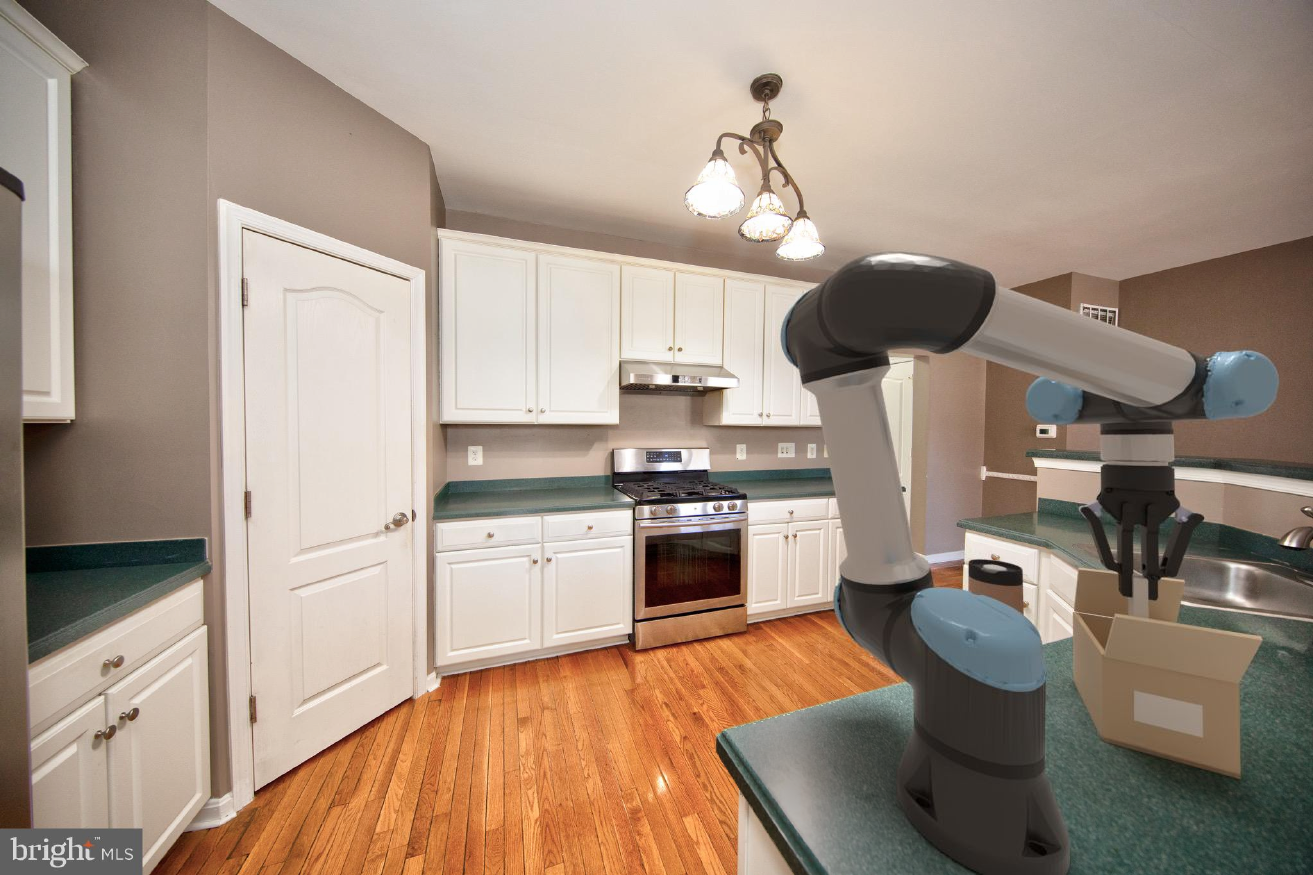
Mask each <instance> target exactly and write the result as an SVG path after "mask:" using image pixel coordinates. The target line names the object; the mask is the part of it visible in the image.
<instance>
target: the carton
mask: <svg viewBox="0 0 1313 875" xmlns="http://www.w3.org/2000/svg"><path fill="white" fill-rule="evenodd" d="M1112 622H1113V618H1112V617H1106V616H1100V615H1093V614H1087V613H1081V612H1075V611H1072V649H1073V650H1072V651H1073V652H1072V655H1073V658H1072V662H1073V663H1072V666H1073V668H1072V671H1073V676H1072V677H1073V684H1074V685H1075V687H1076V689H1077V691H1078V693H1079V695H1080V698H1081V700H1082V702H1083V704H1084V706H1085V708H1086V710H1087V713H1088V714H1089V716H1090V718H1091V720H1092V722H1093V724H1094V726H1095V728H1096V730H1097V732H1098V734H1099V737H1100V739H1101V741H1102V742H1104V743H1108V744H1111V745H1115V746H1119V747H1121V748H1126V749H1129V750H1133V751H1136V752H1140V753H1144V754H1148V755H1150V756H1154V757H1158V758H1161V759H1165V760H1169V761H1173V762H1177V763H1179V764H1180V763H1181V764H1184V765H1186V766H1190V767H1195V768H1198V769H1201V770H1205V771H1209V772H1212V773H1216V774H1220V775H1223V776H1226V777H1230V778H1234V779H1236V780H1237V779H1238V780H1241V779H1242V777H1241V772H1242V771H1241V770H1242V769H1241V768H1242V767H1241V712H1240V711H1241V710H1240V709H1241V706H1240V704H1241V703H1240V683H1239V684H1237V683H1232V682H1227V681H1222V680H1217V679H1212V678H1207V677H1202V676H1197V675H1192V674H1187V673H1182V672H1177V671H1172V670H1167V669H1162V668H1157V667H1152V666H1147V665H1141V664H1136V663H1131V662H1126V661H1121V660H1116V659H1111V658H1106V657H1105V656H1104V652H1105V648H1106V644H1107V641H1108V637H1109V633H1110V630H1111V626H1112Z"/></svg>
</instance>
